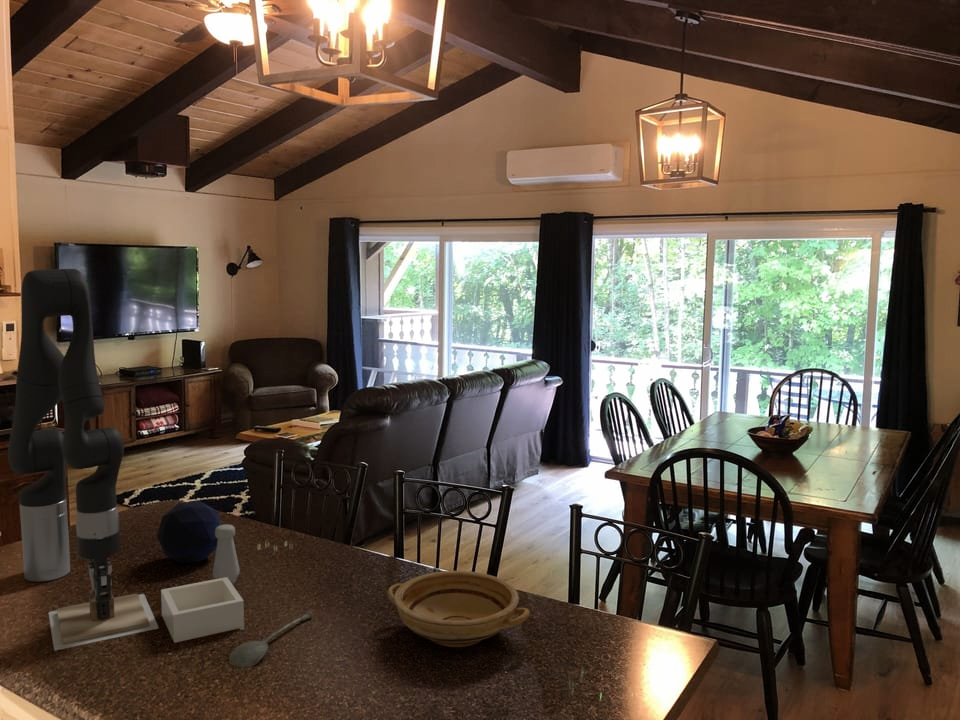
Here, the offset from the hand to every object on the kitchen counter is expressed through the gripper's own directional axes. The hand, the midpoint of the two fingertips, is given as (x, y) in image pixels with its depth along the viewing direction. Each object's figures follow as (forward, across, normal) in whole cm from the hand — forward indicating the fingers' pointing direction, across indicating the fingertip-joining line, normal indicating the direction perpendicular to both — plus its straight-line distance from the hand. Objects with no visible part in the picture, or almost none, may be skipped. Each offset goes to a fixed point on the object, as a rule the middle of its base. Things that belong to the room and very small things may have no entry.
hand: (102, 613), depth 159 cm
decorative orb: (+2, -25, +22) cm, 33 cm away
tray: (+2, 0, 0) cm, 2 cm away
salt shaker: (+2, -8, +26) cm, 27 cm away
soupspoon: (+3, +24, +27) cm, 36 cm away
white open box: (+2, +10, +17) cm, 20 cm away
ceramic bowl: (+2, +38, +59) cm, 70 cm away
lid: (+1, 0, 0) cm, 1 cm away
